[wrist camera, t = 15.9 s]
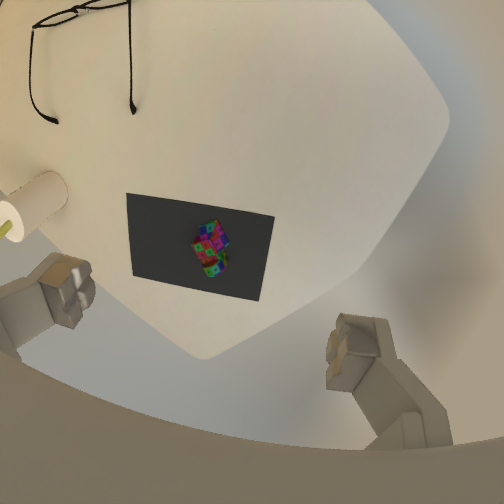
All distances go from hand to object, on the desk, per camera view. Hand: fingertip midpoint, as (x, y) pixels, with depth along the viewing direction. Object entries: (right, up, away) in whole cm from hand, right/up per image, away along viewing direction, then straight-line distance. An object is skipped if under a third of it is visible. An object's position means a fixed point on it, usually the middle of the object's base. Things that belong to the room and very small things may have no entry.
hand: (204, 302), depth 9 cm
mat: (-7, +2, +34) cm, 34 cm away
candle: (-29, +11, +31) cm, 44 cm away
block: (-4, +3, +33) cm, 33 cm away
